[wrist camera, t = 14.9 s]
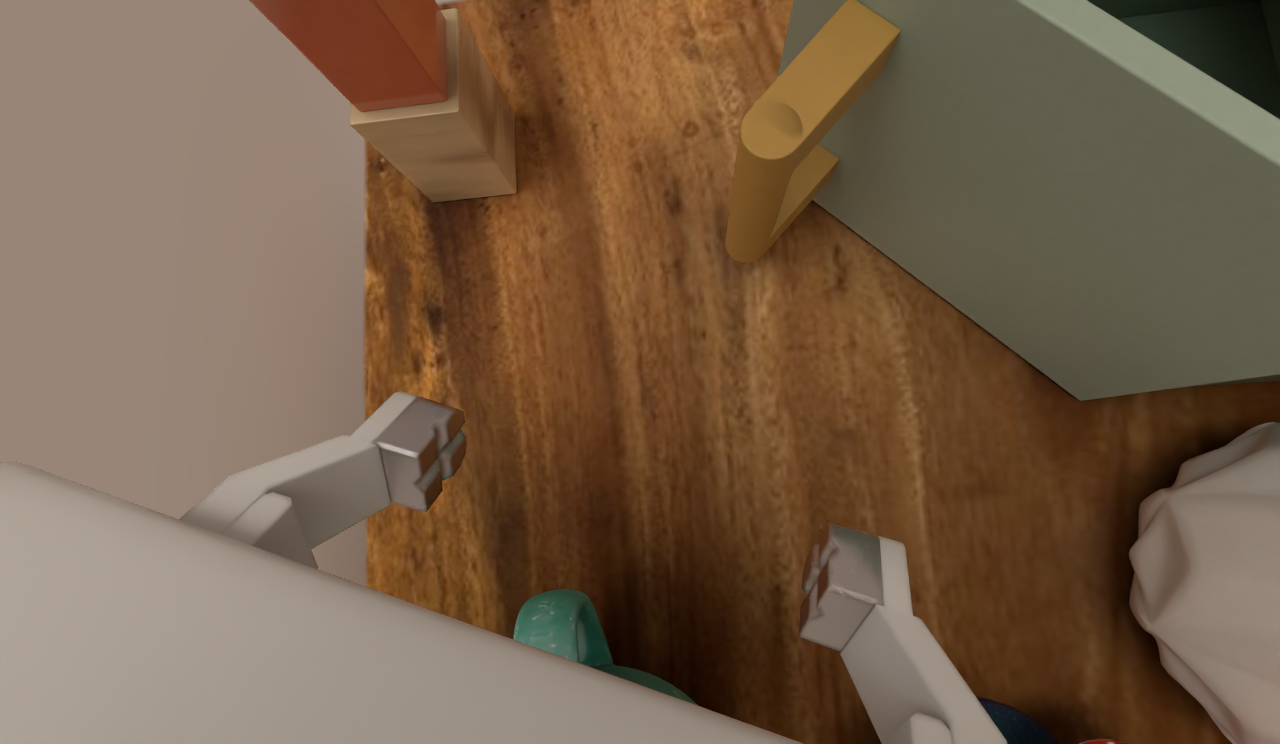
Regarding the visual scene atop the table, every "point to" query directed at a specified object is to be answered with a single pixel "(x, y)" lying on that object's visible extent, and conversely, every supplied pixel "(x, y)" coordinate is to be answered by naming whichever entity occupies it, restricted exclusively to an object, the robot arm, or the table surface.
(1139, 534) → the vase
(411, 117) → the stand
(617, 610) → the table surface
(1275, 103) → the cupboard
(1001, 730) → the figurine
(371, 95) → the block
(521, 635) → the mug
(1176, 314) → the door
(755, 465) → the table surface
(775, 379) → the table surface
